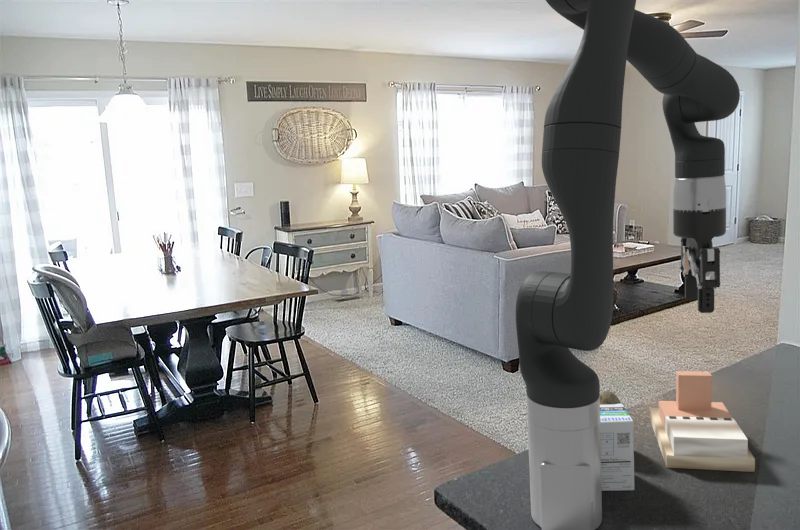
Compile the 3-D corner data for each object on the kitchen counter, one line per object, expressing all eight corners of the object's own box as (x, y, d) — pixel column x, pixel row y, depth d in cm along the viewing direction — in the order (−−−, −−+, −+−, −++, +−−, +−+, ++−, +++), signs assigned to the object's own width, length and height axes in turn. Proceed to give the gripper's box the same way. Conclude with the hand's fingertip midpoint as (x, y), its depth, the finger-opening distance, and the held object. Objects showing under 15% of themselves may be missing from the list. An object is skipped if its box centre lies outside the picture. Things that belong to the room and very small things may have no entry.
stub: (732, 432, 99) (733, 381, 97) (664, 429, 101) (664, 380, 100) (722, 415, 105) (722, 368, 103) (658, 413, 107) (658, 367, 106)
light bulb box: (624, 468, 95) (623, 401, 93) (636, 492, 88) (635, 420, 86) (552, 470, 96) (550, 403, 94) (559, 493, 89) (557, 422, 87)
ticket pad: (754, 471, 91) (755, 439, 90) (666, 467, 94) (666, 435, 93) (722, 420, 108) (723, 392, 107) (649, 418, 111) (649, 391, 110)
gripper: (664, 203, 105) (665, 296, 108) (684, 211, 92) (684, 317, 95) (712, 200, 104) (711, 295, 107) (739, 208, 90) (738, 316, 93)
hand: (698, 305), depth 101 cm, fingers open, 8 cm apart
